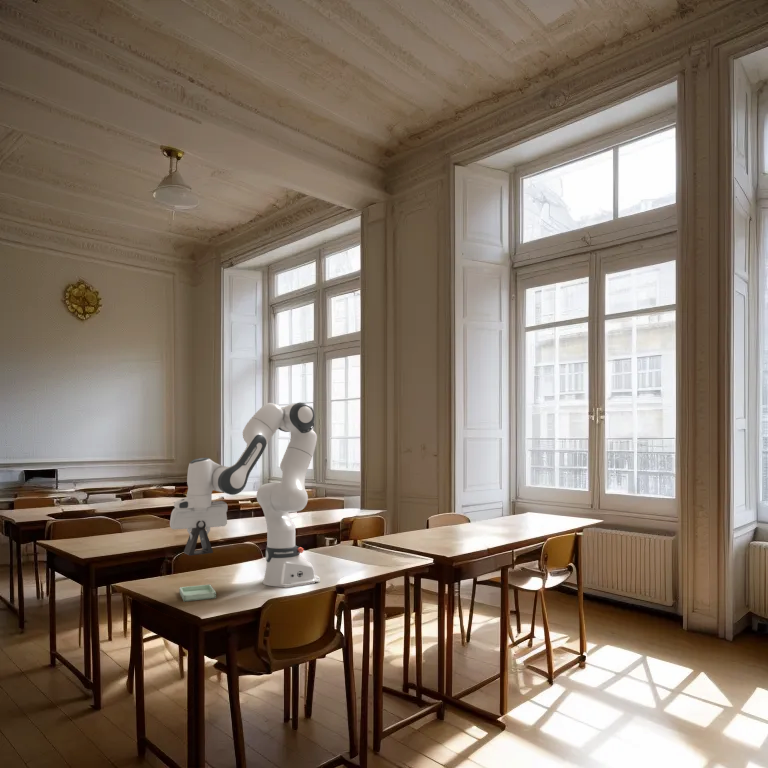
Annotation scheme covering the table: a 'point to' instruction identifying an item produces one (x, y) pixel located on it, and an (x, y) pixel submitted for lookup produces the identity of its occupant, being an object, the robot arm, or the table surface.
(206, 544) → the dark grey a-shaped stand
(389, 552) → the table surface
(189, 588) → the tray
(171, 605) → the table surface
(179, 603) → the table surface
